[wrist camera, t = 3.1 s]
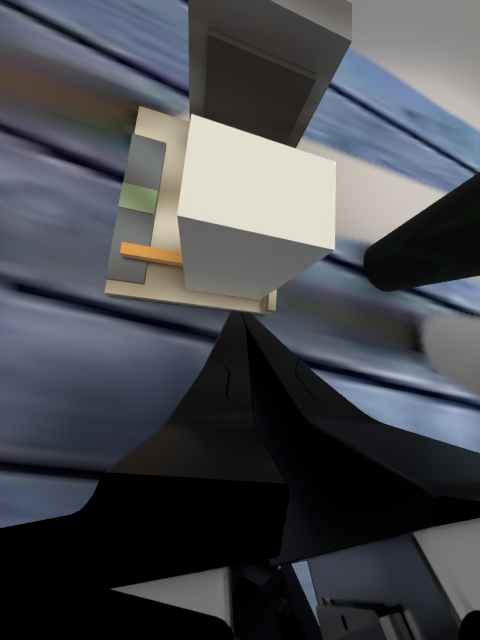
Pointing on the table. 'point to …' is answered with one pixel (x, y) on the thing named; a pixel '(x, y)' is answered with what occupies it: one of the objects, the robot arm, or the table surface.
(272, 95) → the frame
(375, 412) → the table surface
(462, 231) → the cup
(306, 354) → the table surface
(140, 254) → the gauge slider
